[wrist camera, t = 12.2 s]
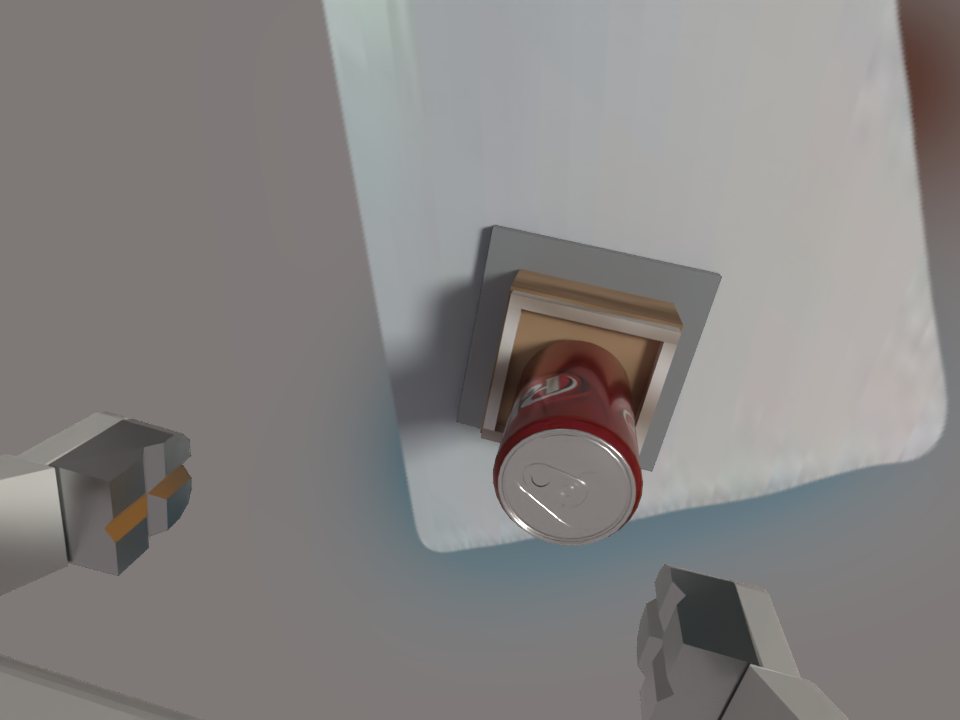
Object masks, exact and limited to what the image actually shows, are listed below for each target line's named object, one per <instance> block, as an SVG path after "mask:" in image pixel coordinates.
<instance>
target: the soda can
mask: <svg viewBox="0 0 960 720" xmlns="http://www.w3.org/2000/svg"><path fill="white" fill-rule="evenodd" d="M493 484H494V488H495V492H496V496H497V498H498V500H499V502H500V504H501V506H502V508H503V510H504V511H505V512H506V514H507V515H508V516H509V518H510V519H511V520H512V521H514V522H515V523H516V524H517V525H518V526H519V527H520V528H522V529H523V530H524V531H526V532H528V533H529V534H531V535H532V536H534V537H536V538H539V539H541V540H543V541H546V542H550V543H554V544H558V545H569V546H573V545H584V544H589V543H593V542H597V541H599V540H602V539H604V538H606V537H609V536H611V535H612V534H614V533H615V532H617V531H618V530H620V529H621V528H622V527H623V526H624V525H625V524H626V523H627V522H628V521H629V520H630V519H631V517H632V515H633V514H634V512H635V511H636V509H637V508H638V505H639V502H640V499H641V496H642V487H643V479H642V472H641V464H640V457H639V449H638V442H637V434H636V427H635V419H634V412H633V404H632V397H631V389H630V382H629V379H628V376H627V373H626V371H625V369H624V368H623V366H622V365H621V363H620V361H619V360H618V359H617V358H616V357H615V356H614V355H613V354H612V353H610V352H609V351H607V350H606V349H604V348H603V347H600V346H598V345H596V344H594V343H590V342H586V341H580V340H567V341H561V342H557V343H554V344H551V345H548V346H547V347H545V348H543V349H541V350H540V351H538V352H537V353H536V354H535V355H534V356H533V357H532V358H531V359H530V360H529V362H528V363H527V364H526V366H525V368H524V370H523V372H522V374H521V377H520V380H519V383H518V387H517V390H516V393H515V397H514V400H513V403H512V406H511V410H510V413H509V416H508V419H507V423H506V426H505V429H504V433H503V436H502V439H501V442H500V446H499V449H498V452H497V455H496V459H495V463H494V468H493Z"/></svg>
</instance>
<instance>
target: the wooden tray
mask: <svg viewBox="0 0 960 720" xmlns="http://www.w3.org/2000/svg"><path fill="white" fill-rule="evenodd" d="M682 328H683V323H682V321H681V319H680V317H679V314H678V312H677V310H676V308H675V305H674V303H670V302H665V301H661V300H656V299H652V298H648V297H643V296H639V295H634V294H630V293H625V292H621V291H616V290H612V289H607V288H603V287H599V286H594V285H590V284H585V283H581V282H576V281H572V280H567V279H563V278H558V277H554V276H550V275H545V274H541V273H536V272H532V271H527V270H523V269H520V270H519V272H518V274H517V276H516V278H515V279H514V281H513V283H512V285H511V288H510V292H509V297H508V302H507V307H506V312H505V316H504V321H503V326H502V331H501V336H500V340H499V345H498V350H497V355H496V360H495V364H494V369H493V374H492V379H491V384H490V388H489V393H488V398H487V403H486V408H485V412H484V417H483V422H482V427H481V432H480V433H482V435H481V438H483V439H487V440H491V441H495V442H499V443H500V442H501V439H502V436H503V433H504V429H505V426H506V423H507V419H508V416H509V413H510V410H511V406H512V403H513V400H514V397H515V393H516V390H517V387H518V383H519V380H520V377H521V374H522V372H523V370H524V368H525V366H526V364H527V363H528V362H529V360H530V359H531V358H532V357H533V356H534V355H535V354H536V353H537V352H538V351H540V350H541V349H543V348H545V347H547V346H548V345H551V344H554V343H557V342H561V341H567V340H580V341H586V342H590V343H594V344H596V345H598V346H600V347H603V348H604V349H606V350H607V351H609V352H610V353H612V354H613V355H614V356H615V357H616V358H617V359H618V360H619V361H620V363H621V365H622V366H623V368H624V369H625V371H626V373H627V376H628V379H629V382H630V389H631V397H632V404H633V412H634V419H635V427H636V434H637V442H638V449H639V455H640V452H641V449H642V446H643V443H644V440H645V437H646V435H647V432H648V429H649V426H650V423H651V420H652V417H653V414H654V411H655V408H656V405H657V403H658V400H659V397H660V394H661V391H662V388H663V385H664V382H665V379H666V376H667V373H668V371H669V368H670V365H671V362H672V359H673V356H674V353H675V350H676V347H677V344H678V341H679V338H680V336H681V331H682Z"/></svg>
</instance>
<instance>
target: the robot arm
mask: <svg viewBox="0 0 960 720" xmlns="http://www.w3.org/2000/svg"><path fill="white" fill-rule="evenodd" d="M189 457H191V451H190V439H189V438H187V437H186V436H185V435H184V434H182V433H178V432H175V431H172V430H169V429H165V428H162V427H159V426H155V425H152V424H148V423H145V422H142V421H138V420H135V419H129V418H127V417H123V416H119V415H116V414H113V413H109V412H96V413H94V414H92V415H90V416H89V417H87V418H85V419H84V420H81V421H80V422H78V423H76V424H74V425H72V426H71V427H69V428H67V429H65V430H63V431H62V432H60V433H58V434H56V435H54V436H53V437H51V438H49V439H47V440H46V441H44V442H42V443H40V444H38V445H37V446H35V447H33V448H31V449H29V450H28V451H26V452H24V453H22V454H20V455H19V456H17V457H16V456H12V455H8V454H7V455H2V456H0V596H1V595H3V594H5V593H8V592H10V591H12V590H15V589H17V588H19V587H21V586H24V585H26V584H28V583H30V582H33V581H35V580H37V579H39V578H41V577H44V576H46V575H48V574H51V573H53V572H55V571H57V570H59V569H62V568H64V567H66V566H68V563H71V564H75V565H78V566H82V567H86V568H90V569H93V570H97V571H101V572H105V573H108V574H112V575H116V576H119V575H120V574H121V573H122V572H123V571H124V570H125V569H127V568H128V566H130V565H131V564H132V563H133V562H134V561H135V560H136V559H137V558H139V557H140V556H141V555H142V554H143V553H144V552H145V551H146V550H147V549H148V548H149V539H150V536H153V535H156V534H158V533H161V532H164V531H167V530H169V529H170V528H171V527H172V526H173V525H174V524H175V523H176V522H177V520H179V519H180V517H181V515H182V514H183V512H184V510H185V508H186V506H187V505H188V502H189V499H190V494H191V490H192V485H191V484H192V480H191V479H192V478H191V476H190V475H189V473H188V472H187V470H186V468H185V467H184V465H183V464H184V463H185V462H186V461H187V460H188V459H189ZM655 588H656V599H654V600H652V601H651V602H649V603H647V604H646V606H645V609H644V612H643V615H642V618H641V621H640V626H639V631H638V637H637V662H638V667H639V668H640V670H641V671H642V673H643V674H644V675H645V677H646V678H645V680H644V683H643V685H642V687H641V690H640V701H641V711H642V720H849V719H848V718H847V717H846V716H845V715H844V714H843V713H842V712H841V711H840V710H839V709H838V707H836V705H834V704H833V703H832V701H830V699H829V698H827V696H825V694H824V693H822V691H821V690H820V689H819V688H818V687H817V686H816V685H815V684H814V683H813V682H811V681H808V680H805V679H801V677H800V674H799V672H798V669H797V666H796V664H795V662H794V659H793V656H792V654H791V651H790V648H789V646H788V643H787V640H786V638H785V635H784V633H783V630H782V628H781V625H780V622H779V620H778V617H777V615H776V612H775V610H774V607H773V604H772V602H771V599H770V596H769V594H768V592H767V591H765V589H763V588H761V587H757V586H753V585H749V584H745V583H741V582H736V581H733V580H729V581H728V580H724V579H720V578H716V577H713V576H709V575H705V574H701V573H698V572H694V571H690V570H686V569H683V568H679V567H675V566H671V565H667V564H664V566H663V567H662V568H661V569H660V571H659V573H658V576H657V578H656V581H655ZM0 720H203V719H199V718H197V717H194V716H191V715H188V714H184V713H181V712H178V711H175V710H172V709H169V708H166V707H163V706H159V705H156V704H153V703H151V702H147V701H144V700H141V699H138V698H135V697H132V696H129V695H126V694H123V693H120V692H116V691H113V690H110V689H107V688H104V687H101V686H98V685H95V684H92V683H89V682H86V681H82V680H79V679H76V678H73V677H70V676H67V675H64V674H61V673H58V672H54V671H51V670H48V669H45V668H42V667H39V666H36V665H33V664H29V663H27V662H23V661H20V660H17V659H14V658H11V657H8V656H5V655H2V654H0Z"/></svg>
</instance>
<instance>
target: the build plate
mask: <svg viewBox="0 0 960 720" xmlns="http://www.w3.org/2000/svg"><path fill="white" fill-rule="evenodd" d="M520 269H523V270H527V271H532V272H536V273H541V274H545V275H550V276H554V277H558V278H563V279H567V280H572V281H576V282H581V283H585V284H590V285H594V286H599V287H603V288H607V289H612V290H616V291H621V292H625V293H630V294H634V295H639V296H643V297H648V298H652V299H656V300H661V301H665V302H670V303H674V305H675V308H676V310H677V312H678V314H679V317H680V319H681V321H682V323H683V328H682V331H681V336H680V338H679V341H678V344H677V347H676V350H675V353H674V356H673V359H672V362H671V365H670V368H669V371H668V373H667V376H666V379H665V382H664V385H663V388H662V391H661V394H660V397H659V400H658V403H657V405H656V408H655V411H654V414H653V417H652V420H651V423H650V426H649V429H648V432H647V435H646V437H645V440H644V443H643V446H642V449H641V452H640V455H639V457H640V464H641V469H644V470H647V471H651V472H652V471H653V468H654V465H655V462H656V459H657V457H658V454H659V451H660V448H661V446H662V443H663V440H664V437H665V434H666V432H667V429H668V426H669V423H670V420H671V418H672V415H673V412H674V409H675V406H676V404H677V401H678V398H679V395H680V393H681V390H682V387H683V384H684V381H685V379H686V376H687V373H688V370H689V367H690V365H691V362H692V359H693V356H694V353H695V351H696V348H697V345H698V342H699V340H700V337H701V334H702V331H703V328H704V326H705V323H706V320H707V317H708V314H709V312H710V309H711V306H712V303H713V301H714V298H715V295H716V292H717V289H718V287H719V284H720V281H721V278H722V276H721V275H720V274H719V273H714V272H710V271H705V270H700V269H696V268H691V267H687V266H682V265H677V264H673V263H668V262H664V261H659V260H654V259H650V258H645V257H641V256H636V255H631V254H627V253H622V252H618V251H613V250H608V249H604V248H599V247H595V246H590V245H585V244H581V243H576V242H572V241H567V240H562V239H558V238H553V237H549V236H544V235H539V234H535V233H530V232H526V231H521V230H516V229H512V228H507V227H503V226H498V225H495V226H493V229H492V235H491V240H490V245H489V251H488V256H487V261H486V267H485V272H484V277H483V283H482V288H481V293H480V299H479V304H478V309H477V315H476V320H475V325H474V331H473V336H472V341H471V347H470V352H469V357H468V363H467V368H466V373H465V379H464V384H463V389H462V395H461V400H460V405H459V411H458V416H457V421H456V422H459V423H463V424H467V425H471V426H475V427H479V428H481V427H482V422H483V417H484V412H485V408H486V403H487V398H488V393H489V388H490V384H491V379H492V374H493V369H494V364H495V360H496V355H497V350H498V345H499V340H500V336H501V331H502V326H503V321H504V316H505V312H506V307H507V302H508V297H509V292H510V288H511V285H512V283H513V281H514V279H515V278H516V276H517V274H518V272H519V270H520Z"/></svg>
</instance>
